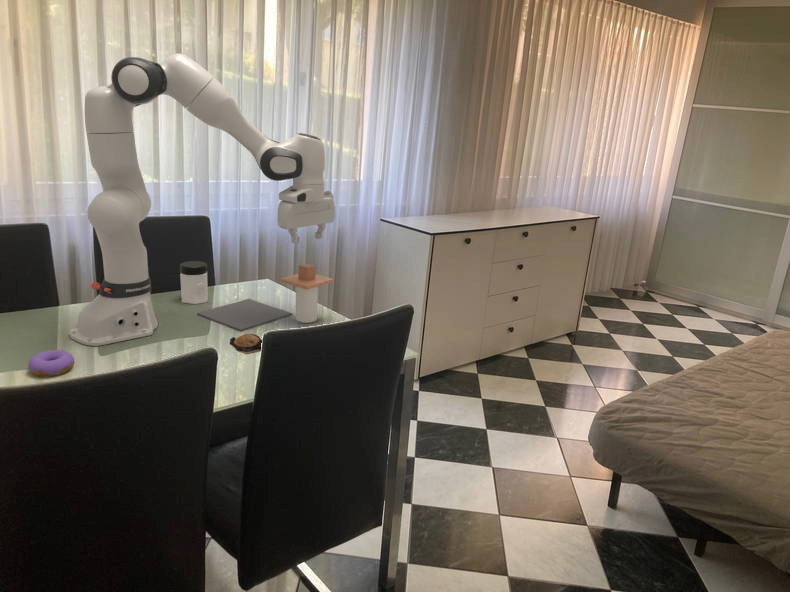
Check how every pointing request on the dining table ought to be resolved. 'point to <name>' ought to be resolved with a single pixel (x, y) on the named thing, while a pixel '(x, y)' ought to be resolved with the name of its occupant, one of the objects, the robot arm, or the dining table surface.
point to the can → (306, 305)
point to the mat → (244, 314)
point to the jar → (194, 282)
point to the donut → (51, 363)
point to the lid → (306, 278)
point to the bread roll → (247, 343)
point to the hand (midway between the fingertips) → (307, 240)
